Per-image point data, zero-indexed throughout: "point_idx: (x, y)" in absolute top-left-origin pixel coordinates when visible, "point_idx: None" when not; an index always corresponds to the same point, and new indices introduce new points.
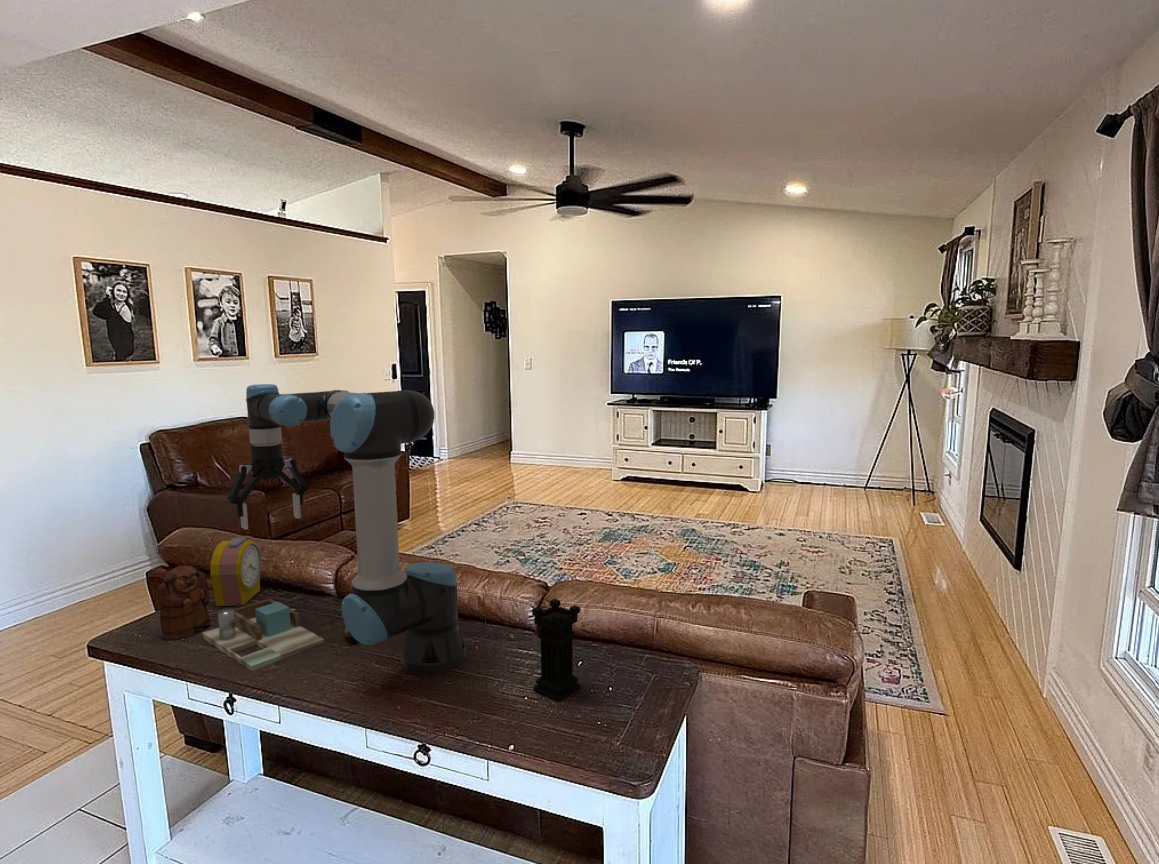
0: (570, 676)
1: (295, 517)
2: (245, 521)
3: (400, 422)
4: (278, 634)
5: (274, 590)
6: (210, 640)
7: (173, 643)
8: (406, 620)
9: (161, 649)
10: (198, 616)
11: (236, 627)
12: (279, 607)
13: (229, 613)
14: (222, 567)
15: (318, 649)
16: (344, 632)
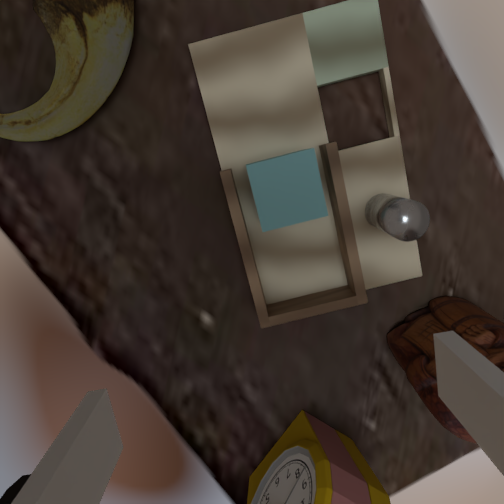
0: None
1: (117, 427)
2: (478, 356)
3: None
4: (278, 150)
5: (220, 458)
6: None
7: (472, 282)
8: None
9: (498, 264)
10: (430, 327)
11: None
12: (269, 182)
13: (402, 201)
14: (365, 500)
15: (209, 28)
16: (132, 36)
